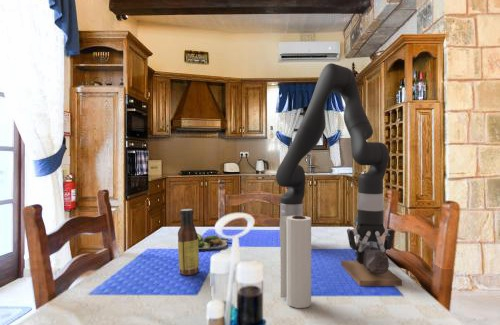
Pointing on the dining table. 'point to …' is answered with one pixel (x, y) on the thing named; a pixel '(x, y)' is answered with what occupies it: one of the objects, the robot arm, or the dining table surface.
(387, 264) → the perforated stone tool
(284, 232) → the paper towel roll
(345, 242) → the dining table surface
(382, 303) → the dining table surface
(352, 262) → the walnut board
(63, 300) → the dining table surface
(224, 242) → the salad plate
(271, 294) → the dining table surface
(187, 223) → the sauce bottle
